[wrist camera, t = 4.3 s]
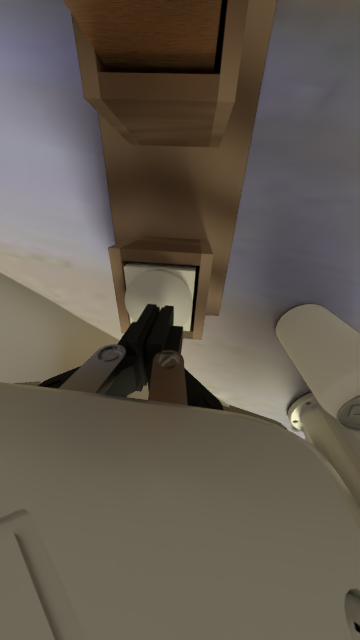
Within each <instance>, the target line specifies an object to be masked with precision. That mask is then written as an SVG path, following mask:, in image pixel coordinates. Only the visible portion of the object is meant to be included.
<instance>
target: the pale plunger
mask: <svg viewBox="0 0 360 640" xmlns="http://www.w3.org/2000/svg"><path fill="white" fill-rule="evenodd" d="M195 270H196V265H181V264H166V263H151V262H137V261H130V262H129V263H128V264H126V265H125V266H124V273H125V282H126V293H125V306H126V309H127V311H128V313H129V315H130V323H132V322H137V320H138V319H139V317H140V315H141V314H142V312H143V310H144V309H145V307H146V306H147V304H156V305H157V307H160V310H161V308H162V307H165V305H168V306H174V324H173V326H182V327H183V331H190V325H191V315H192V304H193V293H194V282H195Z"/></svg>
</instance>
